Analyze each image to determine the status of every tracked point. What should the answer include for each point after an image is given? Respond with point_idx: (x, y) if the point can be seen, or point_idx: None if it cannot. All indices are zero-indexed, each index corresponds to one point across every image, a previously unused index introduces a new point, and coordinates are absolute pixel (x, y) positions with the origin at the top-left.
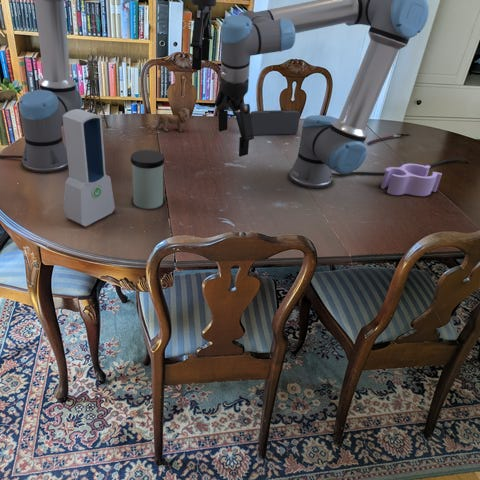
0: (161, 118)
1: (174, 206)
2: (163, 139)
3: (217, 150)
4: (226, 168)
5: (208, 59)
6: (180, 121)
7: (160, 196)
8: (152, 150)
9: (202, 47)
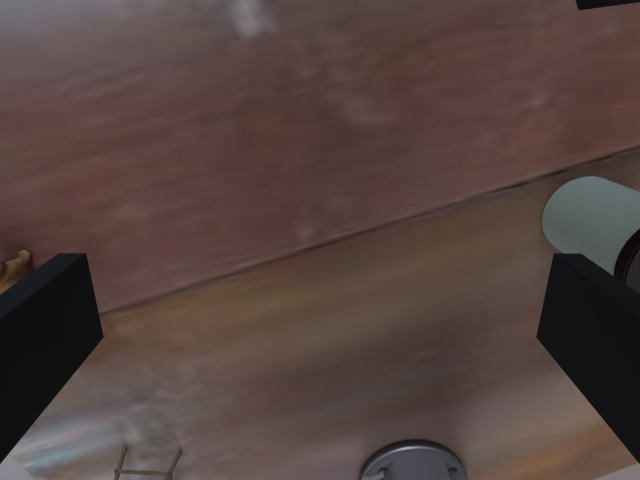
0: None
1: (603, 139)
2: (131, 287)
3: (134, 86)
4: (287, 20)
5: (74, 263)
6: (6, 270)
7: (622, 185)
8: (629, 271)
9: (8, 429)
